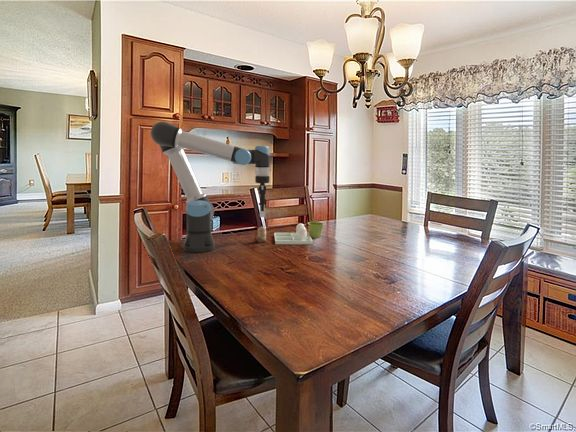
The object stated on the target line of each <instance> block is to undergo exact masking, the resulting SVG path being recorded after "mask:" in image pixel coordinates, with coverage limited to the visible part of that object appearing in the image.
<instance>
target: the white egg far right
mask: <svg viewBox="0 0 576 432" xmlns="http://www.w3.org/2000/svg"><path fill="white" fill-rule="evenodd" d="M307 233H308V231H307V228H306V227H305V226H304V227H300V228H299V230H298V241H306V239H307Z"/></svg>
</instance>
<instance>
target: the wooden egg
mask: <svg viewBox="0 0 576 432" xmlns="http://www.w3.org/2000/svg"><path fill="white" fill-rule="evenodd" d="M266 241H267V229H266V228H265V226H260V227H258V229H257V243H261V244H263V243H266Z"/></svg>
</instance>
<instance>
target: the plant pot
mask: <svg viewBox="0 0 576 432" xmlns="http://www.w3.org/2000/svg"><path fill="white" fill-rule="evenodd" d="M307 225H308V230H309V235H310V237H311V239H312V238H314V239H318V238H321V237H322V233H323V228H324V225H325V223H324V222H320V221H309V222H307Z"/></svg>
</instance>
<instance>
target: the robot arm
mask: <svg viewBox="0 0 576 432" xmlns="http://www.w3.org/2000/svg"><path fill="white" fill-rule="evenodd" d="M150 136H151V139H152V141H153V142H154V143H155V144H156V145H159V148H160V150H161V152H162V154H163V155H166V156H167V158H168V159H169V160H168V161H170V165H171V166H172V169H173V171H174V173H175V176H176V177H177V179H178V182H179V184H180V187H181V188H182V191H183V193H184V195H185V197H186V201H185V205H186V206H185V214H186V235H185V240H184V242H183V251H185V252H188V253H207V252H211V251H214V250H215V249H216V244H215V240H214V238H213V237H214V236H213V234H212V218H213V217H214V214H215V207H214V205H213V204H212V202H211V201H210V199H209V197H208V194H206V193H204V192H203V189H202V188H201V185H200V184H199V182H198V179H197V177H196V175H195V173H194V170H193V168H192V166H191V163H190V161H189V159H188V156H187V155H186V152H185V149H186V150H190V151H194V152H196V153H201V154H203V155H206V156H207V155H208V156H211V157H215V158H217V159H222V160H225V161H229V162H231V163H232V164H234V165H239V166H240V165H241V166H246V165H255V166H254V167H255V168H254V171H255V173H254V175H255V177H254V178H255V183H256V184H259V185H258V192H259V193H258V194H259V202H258V206H259V217H260V218H266V201H267V199H266V198H265V197H266V194H267V192H266V191H267V186H266V184H269V183H270V172H271V169H270V161H271V160H270V159H271V158H270V154H271V153H270V147H269V146H267V145H255V148H254V149H247V148H242V147H239V146H235V145H232V144H229V143H225V142H221V141H219V140H215V139H212V138H207V137H205V136H201V135H198V134H194V133H191V132H188V131H184V130H183V129H182V128H181V127H178V126H176V125H175V124H173V123H170V122H167V121H163V120H162V121H157V122H156V123H154V124H153V125H152V127H151V128H150Z"/></svg>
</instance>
